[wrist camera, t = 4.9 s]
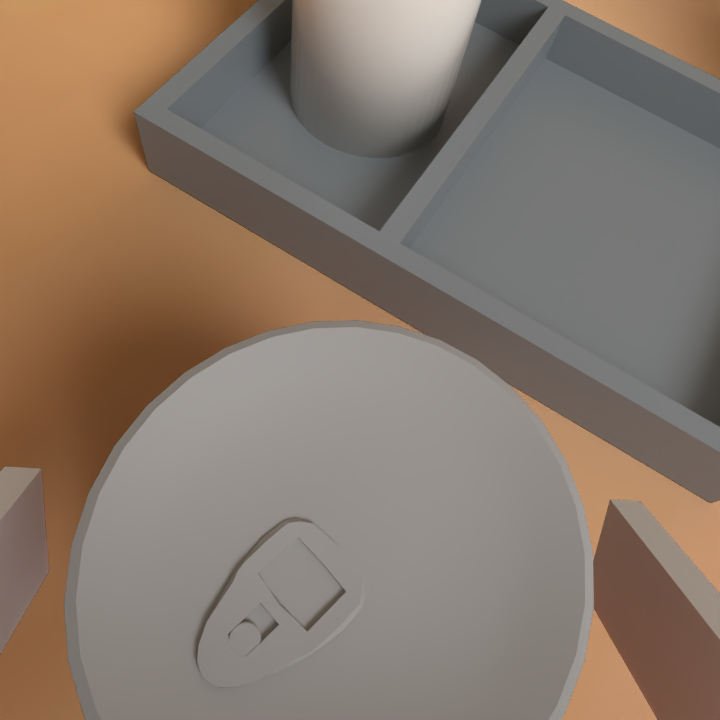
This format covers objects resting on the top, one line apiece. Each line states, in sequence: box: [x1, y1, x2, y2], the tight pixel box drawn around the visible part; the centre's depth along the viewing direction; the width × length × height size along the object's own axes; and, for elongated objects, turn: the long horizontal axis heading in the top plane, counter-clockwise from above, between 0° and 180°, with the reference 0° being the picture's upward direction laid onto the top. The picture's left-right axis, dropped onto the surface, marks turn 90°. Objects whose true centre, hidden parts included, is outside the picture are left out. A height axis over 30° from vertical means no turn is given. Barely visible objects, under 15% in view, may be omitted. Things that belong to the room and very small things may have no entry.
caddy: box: [134, 0, 720, 503], centre depth 26 cm, size 24×16×3 cm, turn 59°
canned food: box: [64, 320, 594, 720], centre depth 14 cm, size 8×8×11 cm
